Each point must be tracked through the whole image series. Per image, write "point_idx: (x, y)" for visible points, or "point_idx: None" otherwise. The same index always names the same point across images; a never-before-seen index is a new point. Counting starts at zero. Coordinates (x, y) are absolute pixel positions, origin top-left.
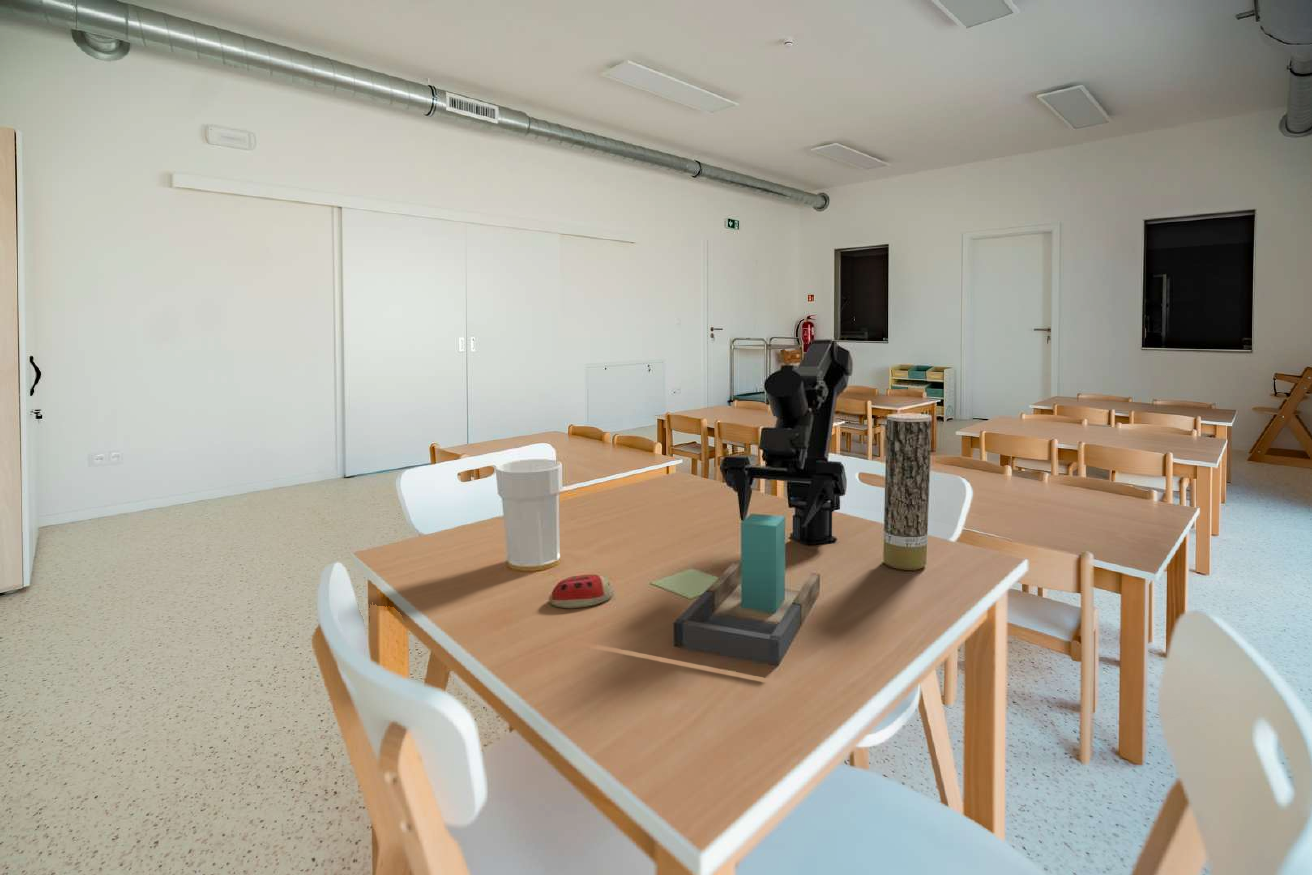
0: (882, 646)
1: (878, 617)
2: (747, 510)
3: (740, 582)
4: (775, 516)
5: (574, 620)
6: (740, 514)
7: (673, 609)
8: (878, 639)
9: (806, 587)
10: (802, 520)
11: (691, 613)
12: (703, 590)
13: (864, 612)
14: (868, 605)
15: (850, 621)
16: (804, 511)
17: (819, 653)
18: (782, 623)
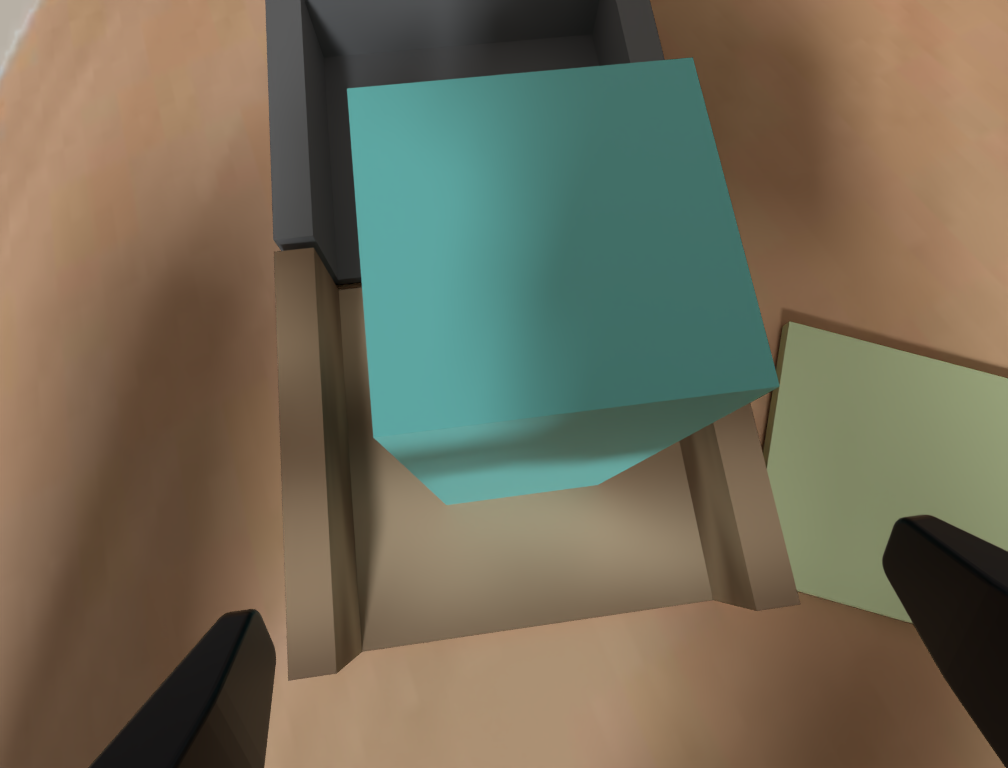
0: (10, 304)
1: (36, 547)
2: (1002, 749)
3: (713, 595)
4: (482, 398)
5: (995, 35)
6: (955, 526)
7: (793, 239)
8: (26, 349)
9: (302, 441)
10: (233, 631)
11: (622, 9)
12: (799, 420)
13: (99, 571)
14: (89, 662)
15: (145, 451)
16: (176, 735)
17: (206, 170)
18: (291, 71)
